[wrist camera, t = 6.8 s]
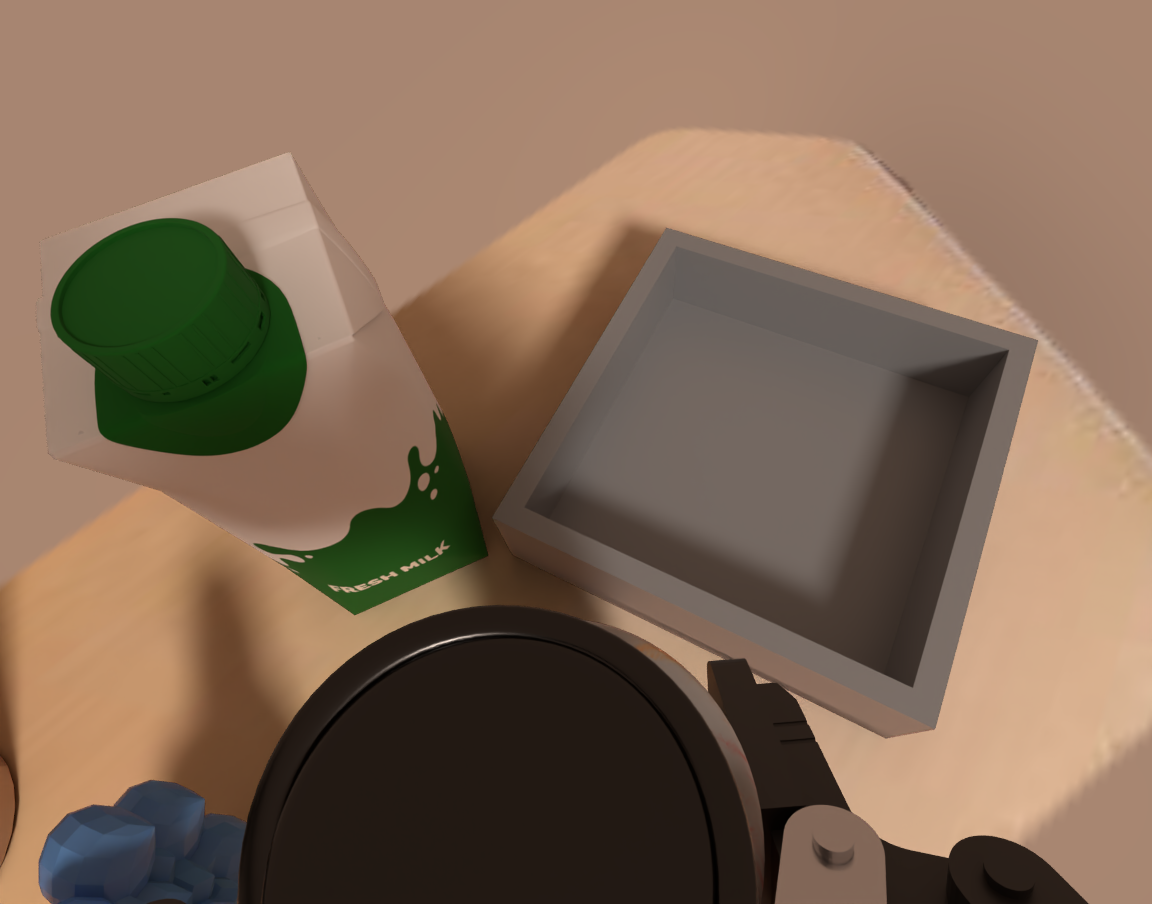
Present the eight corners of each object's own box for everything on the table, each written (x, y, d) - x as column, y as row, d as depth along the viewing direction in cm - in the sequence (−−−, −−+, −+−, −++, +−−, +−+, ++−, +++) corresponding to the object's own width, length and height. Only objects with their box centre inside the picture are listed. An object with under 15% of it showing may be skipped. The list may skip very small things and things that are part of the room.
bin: (512, 555, 32) (492, 517, 27) (663, 291, 38) (666, 227, 34) (886, 738, 27) (934, 729, 22) (985, 399, 33) (1038, 340, 29)
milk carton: (341, 641, 31) (-70, 444, 13) (301, 484, 35) (-55, 169, 17) (513, 564, 32) (351, 282, 14) (454, 420, 36) (270, 59, 18)
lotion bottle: (482, 832, 22) (-138, 1033, 4) (571, 681, 24) (411, 378, 6) (630, 944, 20) (649, 2083, 2) (712, 770, 22) (1045, 709, 4)
